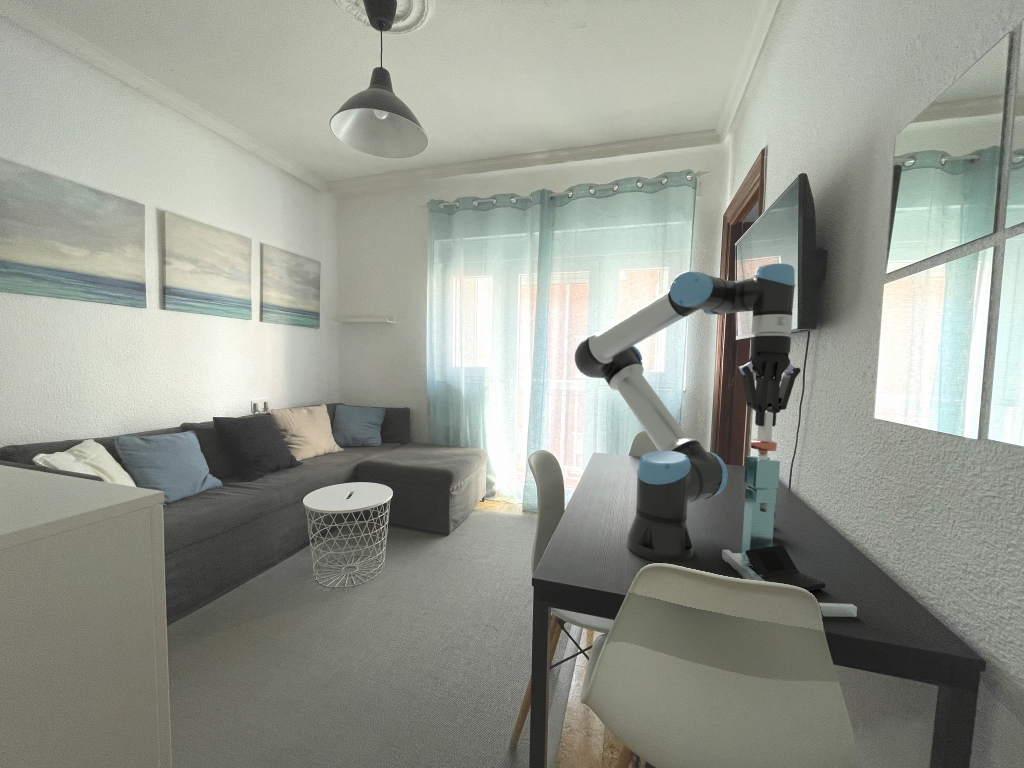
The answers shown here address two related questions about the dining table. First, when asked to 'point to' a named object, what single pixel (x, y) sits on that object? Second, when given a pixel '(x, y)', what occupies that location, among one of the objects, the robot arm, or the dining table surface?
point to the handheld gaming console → (780, 568)
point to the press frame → (766, 524)
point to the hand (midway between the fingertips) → (764, 440)
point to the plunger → (763, 448)
